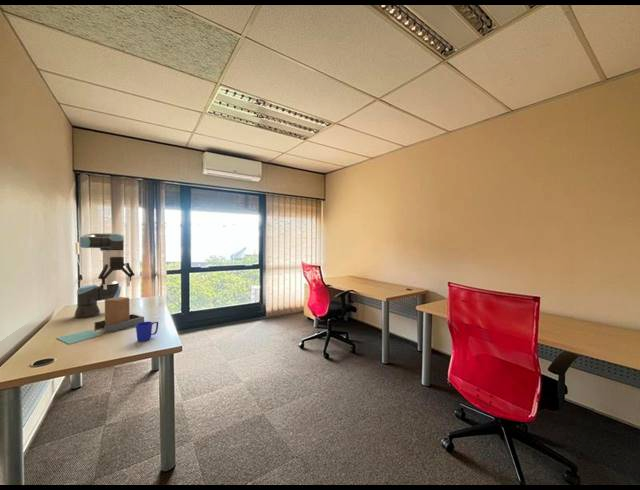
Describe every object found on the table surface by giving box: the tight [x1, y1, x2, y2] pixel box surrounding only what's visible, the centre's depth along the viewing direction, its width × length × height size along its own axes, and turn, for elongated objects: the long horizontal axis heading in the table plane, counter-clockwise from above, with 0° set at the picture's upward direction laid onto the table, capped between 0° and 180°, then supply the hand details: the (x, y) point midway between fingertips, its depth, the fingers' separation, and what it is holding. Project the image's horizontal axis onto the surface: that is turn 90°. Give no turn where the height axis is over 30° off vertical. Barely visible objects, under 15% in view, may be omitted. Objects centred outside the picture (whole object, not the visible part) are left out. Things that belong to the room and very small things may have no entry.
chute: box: [93, 313, 145, 335], centre depth 180 cm, size 15×23×5 cm, turn 151°
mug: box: [135, 321, 159, 343], centre depth 158 cm, size 8×12×10 cm
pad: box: [56, 329, 103, 345], centre depth 161 cm, size 18×16×1 cm
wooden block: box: [104, 296, 130, 326], centre depth 178 cm, size 10×10×20 cm
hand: (117, 287), depth 178 cm, fingers open, 13 cm apart
